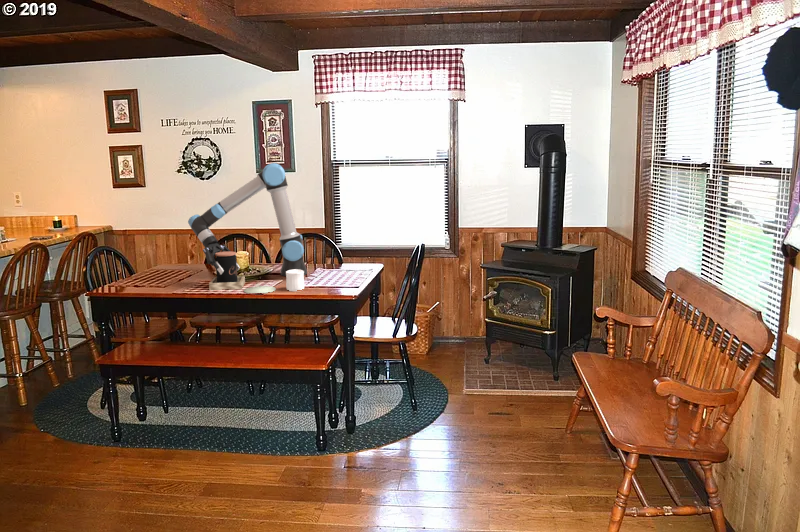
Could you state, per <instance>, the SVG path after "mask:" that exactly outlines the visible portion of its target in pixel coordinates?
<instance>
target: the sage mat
mask: <svg viewBox="0 0 800 532" xmlns="http://www.w3.org/2000/svg"><path fill="white" fill-rule="evenodd" d="M276 290H277V288H276V287H275V286H268V285H257V286H252V287H251V286H250V287H247V288H244V289H243V292H244V293H245V292H246V293H245V294H249V293H264V294H269V293H268V292H270V293H273V291H274V292H276Z"/></svg>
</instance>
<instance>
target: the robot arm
mask: <svg viewBox="0 0 800 532" xmlns="http://www.w3.org/2000/svg"><path fill="white" fill-rule="evenodd" d="M288 186H289V185H288V182H287V178H286V171H285V169H284V167H283V166H282V165H281V164H279V163H275V162H272V163H268V164H267V165H265V167H264V168H263V169H262V170H261V171H260V172H259V173H257V174H256V177H254V178H253V179H251V180H250V181H248V182H246V183H245V184H244V185H243V186H241V187H239V188H238V189H236V190H235V191H234V192H232V193H231V194H229V195H228V196H226V197H225V198H223V199H222V200H220V201H218V202H217V203H215V204H213V205H212V206H211V207H209V209H207V210H205V212H204V213H202V214H201V215H199V214H194V215H191V216H190V217H189V219H188V221H187V223H188V225H189V227H190V228H191V230H192V231H193V233H194V234H195V236H196V237H197V239H199V241H200V243H201V244H202V246H203V247H204V248H203V249H202V252H203V253H204V256H205V258H206V262H207V264H208V265H211V266H212V267H214V269H215V270H216V269H217V270H218V271H219V273H220V274H222V273H223V272H224V270H223V269H222V267H221V266H220V265H219V263H218V262H216V255H215V253H218V252H227V251H231V250H230V249H229V248H228V247H227V245H226V244H224V243H223V244H220V243H219V241H218V239H217V238H216V236H215V234H214V233H213V232H212V231H211V229H210V227H211V226H212V225H214V224H216V222H218V221H220V220H221V219H222V218H223V217H224V216H225V215H227V214H228V213H230V212H231V211H233V210H234V209H236V208H237V207H239V206H240V205H242V204H243V203H244V202H246V201H248V200H249V199H251V198H253V196H255V195H257V194H258V193H260V192H261V191H263V190H264V189H266V191H267V192H268V193H269V194H270V198H271V201H272V205H273V208H274V211H275V212H274V213H275V216H276V220H277V224H278V229H279V231H280V237H279V238H278V240H279V244H280V248H281V253H282V265H281V267H280V276H283V277H286V271H288V270H294V269H299V270H303V271H304V276H305V275H307V274H308V269H307V267H306V264H305V261H304V254H305V249H304V248H305V247H304V242H303V241H304V239H303V235H302V234H301V233H299V232H297V228H296V224H295V222H294V221H295V220H294V216H293V213H292V209H291V205H290V201H289V196H288V194H287V193H288V192H287V189H288ZM235 256H236V257H237V254H236V255H235ZM236 262H237V272H238V271H239V270H240V268H241V267H240V265H239V263H238V261H237V260H236Z"/></svg>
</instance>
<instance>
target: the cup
mask: <svg viewBox="0 0 800 532" xmlns="http://www.w3.org/2000/svg"><path fill="white" fill-rule="evenodd" d="M285 277H286V279H285V283H286V285H285V287H286V291H287V290H289V291H288V292H298V291H297V290H302V289H304V290H305V275H304V271H303V270H299V269H294V270H288V271H286V276H285ZM302 291H303V290H302Z"/></svg>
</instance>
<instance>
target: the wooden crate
mask: <svg viewBox="0 0 800 532" xmlns="http://www.w3.org/2000/svg"><path fill="white" fill-rule="evenodd" d="M237 280H238V282H227V283H217V276H216V277H213V278H212V279H211V280H210V282H209V283H208V287H209V291H221V290H222V289H229V290H242V289H243V288H242V287H244V285H245V284H246V278H245V276H237ZM222 291H223V290H222Z"/></svg>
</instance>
